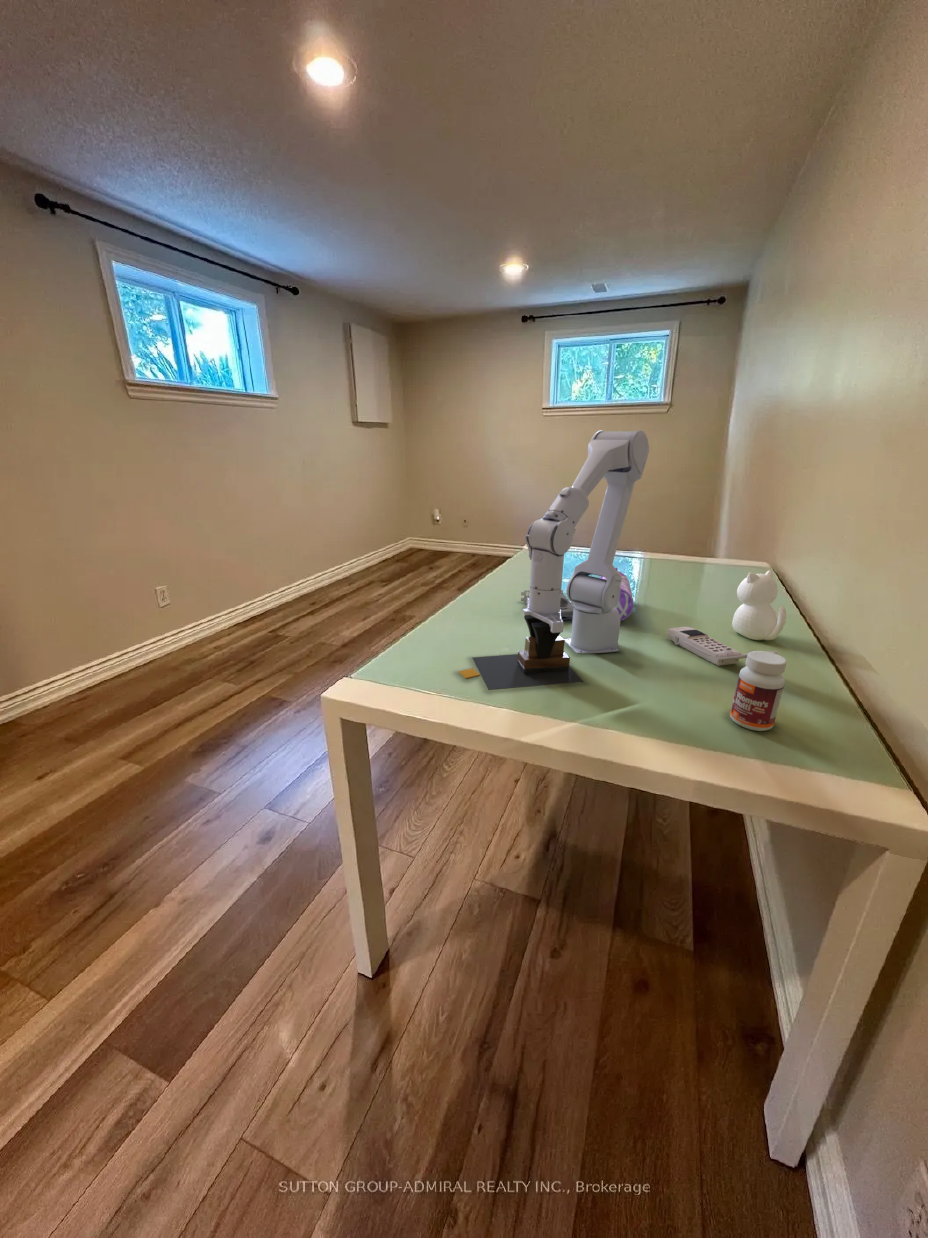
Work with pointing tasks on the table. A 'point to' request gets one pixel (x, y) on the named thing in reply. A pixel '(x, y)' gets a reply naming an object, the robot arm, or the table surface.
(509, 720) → the table surface
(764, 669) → the pill bottle
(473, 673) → the mustard square tile
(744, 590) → the cat figurine
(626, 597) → the pencil case
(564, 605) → the graphics card
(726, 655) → the mobile phone
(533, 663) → the brown stepped block
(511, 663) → the mat
